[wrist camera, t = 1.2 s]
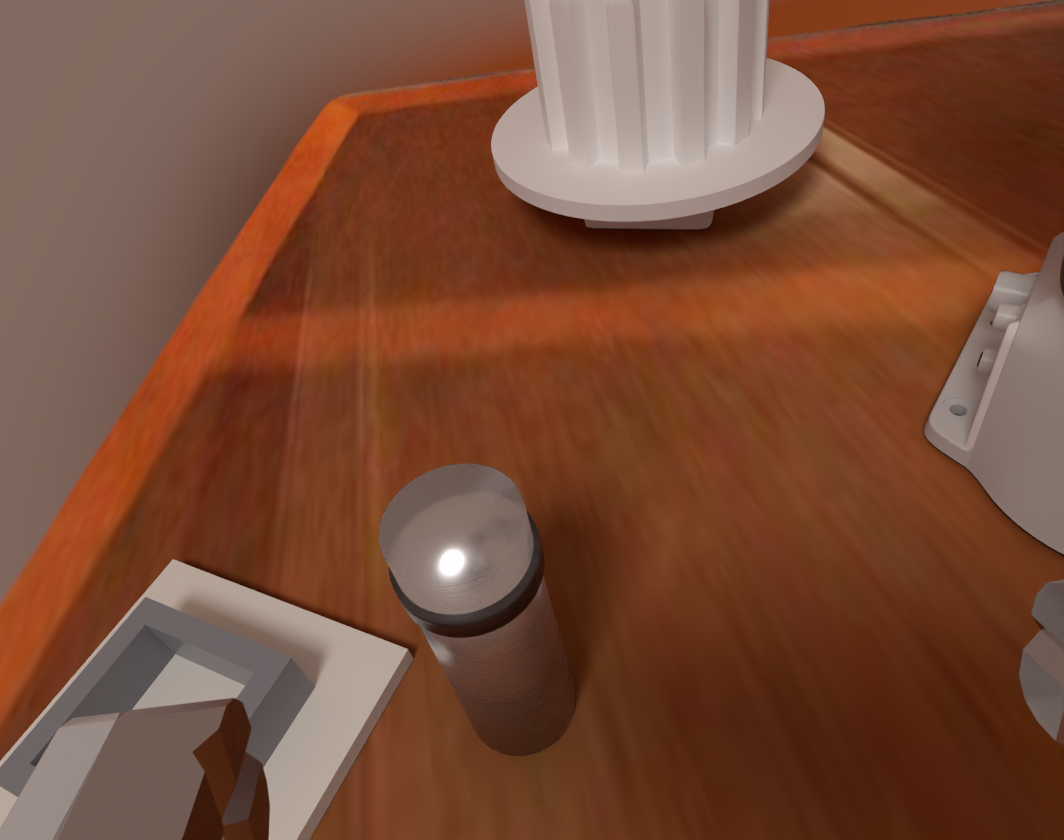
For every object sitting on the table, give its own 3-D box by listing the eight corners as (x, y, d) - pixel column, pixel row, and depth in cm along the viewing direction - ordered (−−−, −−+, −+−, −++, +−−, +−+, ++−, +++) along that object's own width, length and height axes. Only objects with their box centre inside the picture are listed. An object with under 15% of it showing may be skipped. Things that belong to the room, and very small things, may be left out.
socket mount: (181, 569, 45) (146, 528, 42) (413, 659, 38) (390, 617, 35) (-58, 853, 35) (-125, 825, 32) (197, 1035, 29) (141, 1020, 26)
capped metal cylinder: (496, 632, 39) (423, 445, 29) (597, 668, 36) (556, 479, 26) (444, 734, 35) (342, 563, 25) (551, 780, 33) (485, 612, 23)
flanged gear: (819, 120, 69) (846, -136, 55) (810, 294, 53) (845, -7, 39) (548, 128, 76) (514, -96, 63) (467, 283, 60) (399, 26, 47)
